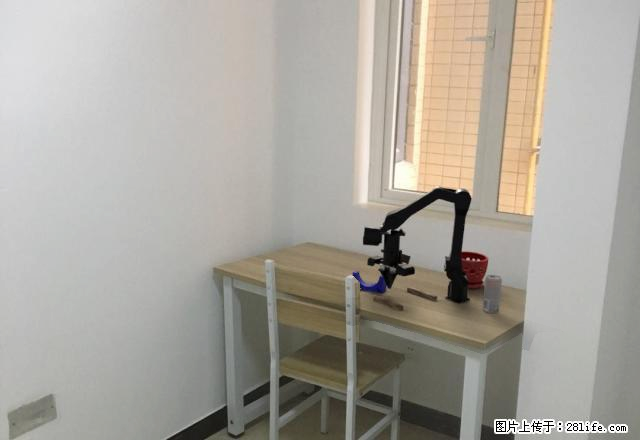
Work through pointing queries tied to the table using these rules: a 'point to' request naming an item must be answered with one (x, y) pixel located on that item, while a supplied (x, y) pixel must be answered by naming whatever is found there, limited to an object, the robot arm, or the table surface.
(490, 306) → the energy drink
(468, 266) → the plant pot
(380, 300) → the brown wooden bars
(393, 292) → the table surface
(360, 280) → the cable clip
